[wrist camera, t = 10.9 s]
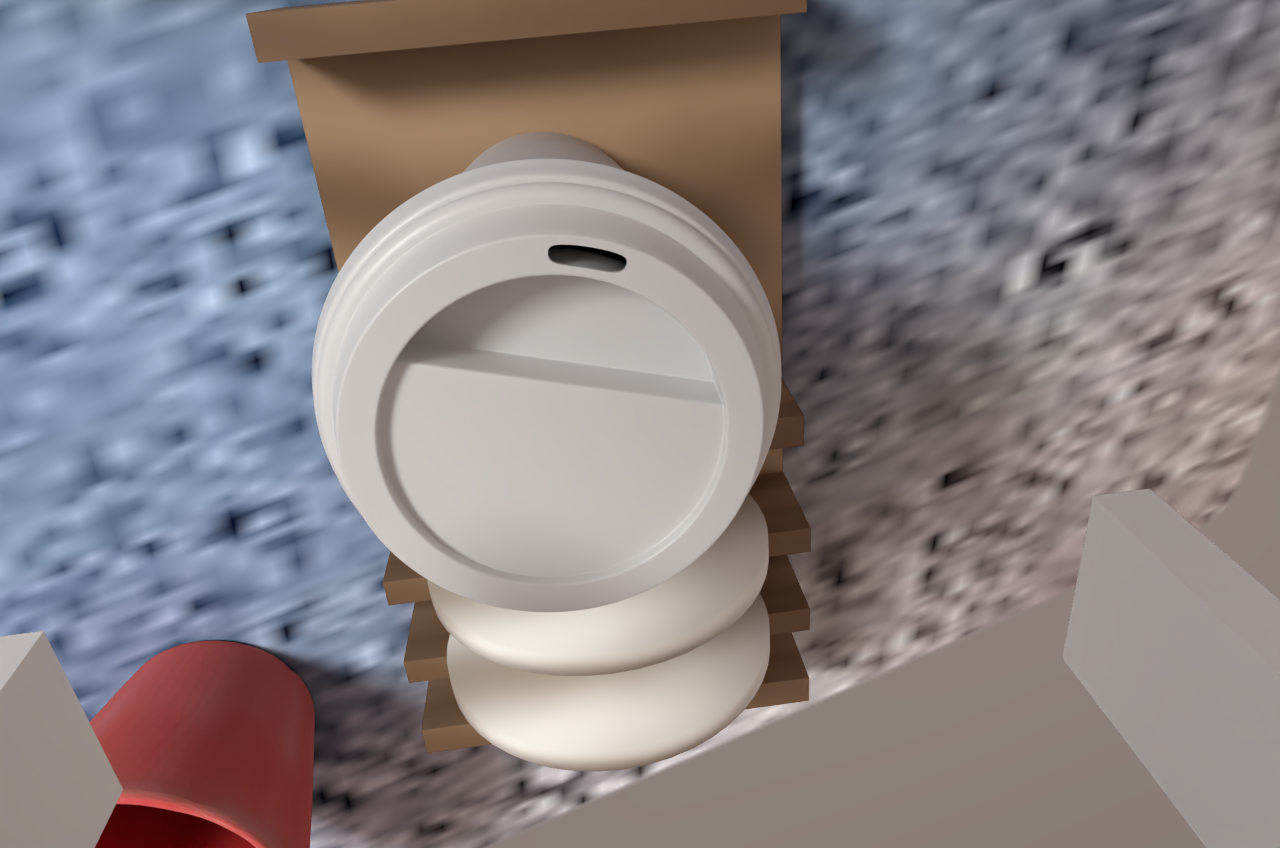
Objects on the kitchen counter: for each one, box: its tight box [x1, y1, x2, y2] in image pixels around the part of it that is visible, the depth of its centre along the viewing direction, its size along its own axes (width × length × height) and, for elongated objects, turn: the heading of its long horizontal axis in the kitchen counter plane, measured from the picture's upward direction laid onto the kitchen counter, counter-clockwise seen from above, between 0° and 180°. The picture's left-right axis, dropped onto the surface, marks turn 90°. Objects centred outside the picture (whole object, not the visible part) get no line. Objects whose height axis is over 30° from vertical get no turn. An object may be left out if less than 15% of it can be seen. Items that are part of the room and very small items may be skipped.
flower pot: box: [90, 640, 315, 848], centre depth 35 cm, size 11×11×10 cm
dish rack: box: [246, 0, 811, 771], centre depth 28 cm, size 26×15×12 cm, turn 5°
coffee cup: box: [312, 132, 781, 612], centre depth 23 cm, size 10×10×15 cm
